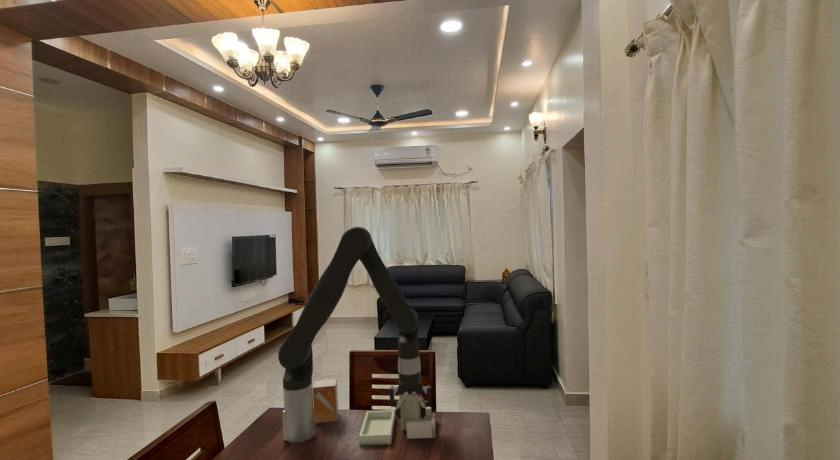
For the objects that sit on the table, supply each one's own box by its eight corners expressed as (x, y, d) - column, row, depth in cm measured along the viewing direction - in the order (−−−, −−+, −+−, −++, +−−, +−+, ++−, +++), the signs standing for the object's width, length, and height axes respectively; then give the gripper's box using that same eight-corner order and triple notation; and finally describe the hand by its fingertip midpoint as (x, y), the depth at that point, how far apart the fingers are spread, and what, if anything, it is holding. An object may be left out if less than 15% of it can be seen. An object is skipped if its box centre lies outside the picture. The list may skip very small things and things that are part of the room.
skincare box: (423, 426, 131) (421, 390, 131) (417, 433, 127) (416, 396, 127) (406, 422, 134) (404, 387, 134) (400, 429, 130) (398, 393, 130)
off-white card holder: (407, 438, 125) (406, 423, 125) (408, 421, 136) (408, 407, 136) (435, 437, 125) (435, 422, 125) (435, 420, 136) (434, 406, 135)
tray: (359, 445, 123) (358, 436, 123) (367, 419, 139) (366, 411, 139) (391, 444, 123) (390, 434, 123) (395, 418, 139) (394, 410, 139)
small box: (314, 424, 137) (312, 387, 137) (316, 415, 144) (314, 380, 143) (337, 421, 138) (335, 385, 138) (338, 412, 145) (336, 378, 144)
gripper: (386, 374, 126) (389, 424, 127) (431, 372, 126) (432, 423, 127) (389, 365, 134) (391, 413, 134) (430, 364, 134) (432, 411, 134)
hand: (411, 417), depth 130 cm, fingers closed on skincare box, 7 cm apart
